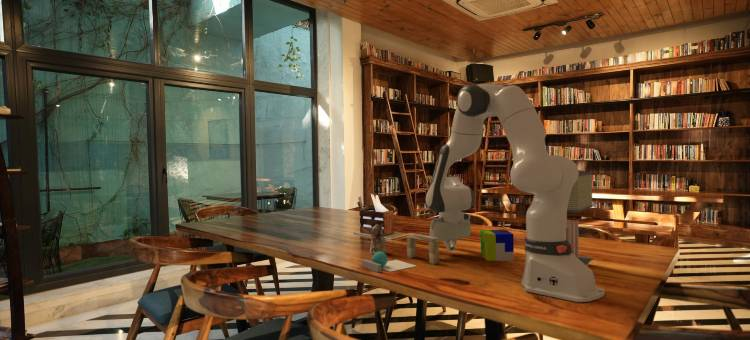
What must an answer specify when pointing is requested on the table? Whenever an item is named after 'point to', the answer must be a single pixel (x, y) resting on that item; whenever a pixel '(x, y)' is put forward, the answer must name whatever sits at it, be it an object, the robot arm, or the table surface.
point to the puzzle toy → (497, 245)
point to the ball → (380, 258)
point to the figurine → (378, 240)
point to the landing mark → (396, 265)
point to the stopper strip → (371, 265)
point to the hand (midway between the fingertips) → (450, 250)
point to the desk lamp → (579, 210)
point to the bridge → (432, 246)
